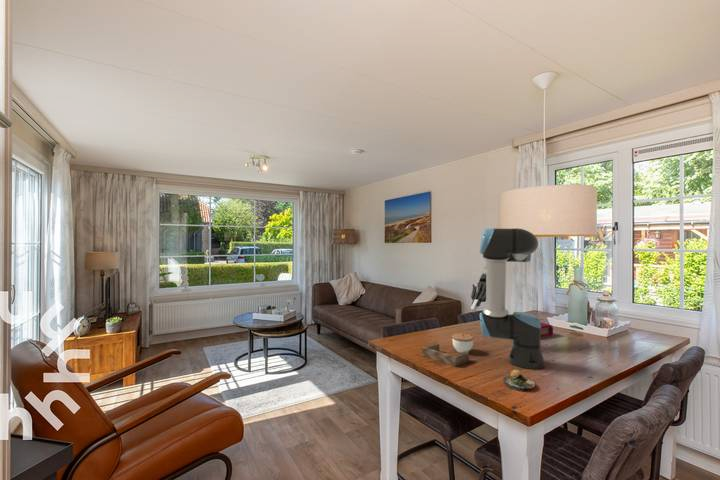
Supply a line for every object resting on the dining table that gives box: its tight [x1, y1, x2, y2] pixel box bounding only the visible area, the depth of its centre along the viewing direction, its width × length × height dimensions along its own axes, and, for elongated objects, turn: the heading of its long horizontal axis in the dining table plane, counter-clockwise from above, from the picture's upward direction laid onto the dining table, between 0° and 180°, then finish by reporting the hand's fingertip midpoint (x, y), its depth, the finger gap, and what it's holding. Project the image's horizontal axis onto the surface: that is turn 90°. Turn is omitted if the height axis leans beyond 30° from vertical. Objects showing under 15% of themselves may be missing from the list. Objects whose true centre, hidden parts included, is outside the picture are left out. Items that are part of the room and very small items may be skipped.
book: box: [540, 321, 554, 338], centre depth 211 cm, size 21×28×8 cm
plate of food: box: [502, 366, 536, 392], centre depth 132 cm, size 12×12×8 cm
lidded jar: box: [451, 332, 475, 354], centre depth 172 cm, size 11×11×9 cm
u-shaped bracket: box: [421, 342, 470, 367], centre depth 162 cm, size 19×12×4 cm, turn 41°
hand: (472, 310), depth 179 cm, fingers closed
